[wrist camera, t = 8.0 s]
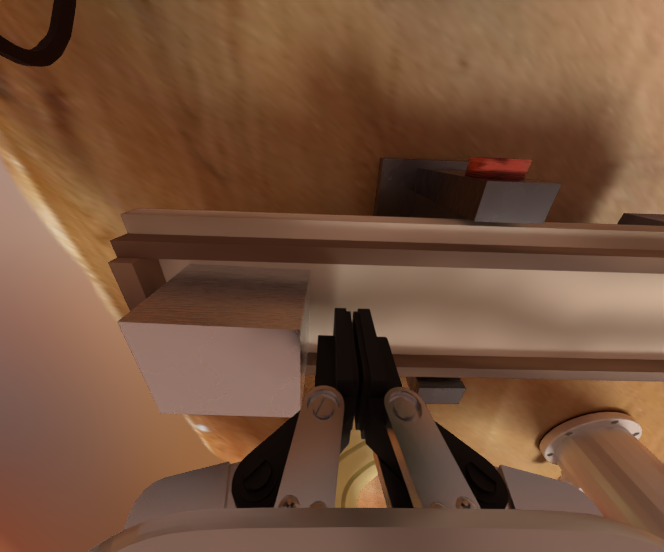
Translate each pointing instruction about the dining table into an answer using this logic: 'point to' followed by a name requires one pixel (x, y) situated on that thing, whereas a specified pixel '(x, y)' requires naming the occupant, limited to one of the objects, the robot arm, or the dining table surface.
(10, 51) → the coffee mug
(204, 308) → the block
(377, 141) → the dining table surface
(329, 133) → the dining table surface
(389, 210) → the pivot stand
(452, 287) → the beam
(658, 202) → the dining table surface
